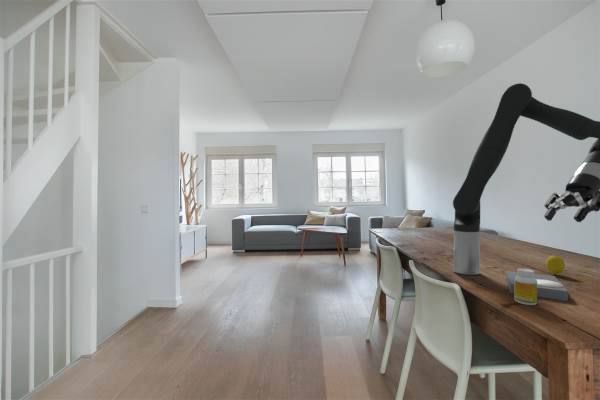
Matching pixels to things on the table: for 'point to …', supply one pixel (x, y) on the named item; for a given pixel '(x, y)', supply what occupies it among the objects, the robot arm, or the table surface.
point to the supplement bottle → (525, 287)
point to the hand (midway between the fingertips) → (561, 219)
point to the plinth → (542, 286)
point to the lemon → (555, 264)
